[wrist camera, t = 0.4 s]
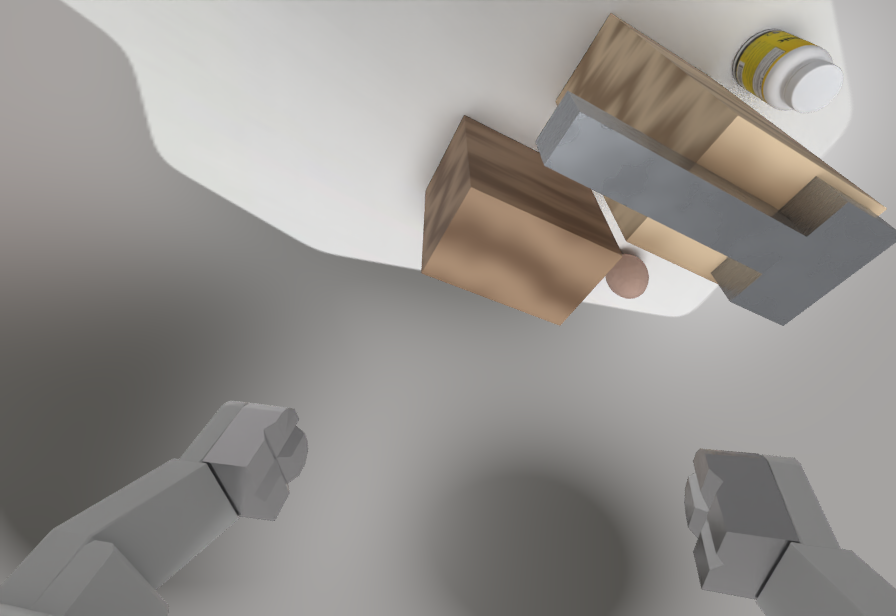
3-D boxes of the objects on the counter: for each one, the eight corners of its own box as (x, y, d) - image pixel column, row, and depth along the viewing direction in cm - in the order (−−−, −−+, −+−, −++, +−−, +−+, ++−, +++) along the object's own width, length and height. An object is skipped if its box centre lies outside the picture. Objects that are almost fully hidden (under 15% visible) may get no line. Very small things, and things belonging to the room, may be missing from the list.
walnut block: (464, 115, 51) (471, 186, 39) (584, 175, 56) (623, 256, 44) (425, 190, 57) (421, 273, 45) (537, 239, 62) (560, 325, 50)
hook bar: (511, 178, 28) (517, 205, 26) (598, 41, 23) (614, 59, 21) (761, 296, 34) (783, 325, 32) (869, 208, 29) (904, 236, 27)
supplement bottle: (802, 42, 47) (868, 73, 39) (758, 95, 50) (811, 132, 43) (762, 17, 45) (823, 44, 38) (719, 73, 48) (767, 107, 41)
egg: (646, 260, 64) (664, 293, 59) (613, 281, 67) (627, 314, 62) (626, 238, 62) (642, 270, 57) (593, 261, 64) (605, 293, 59)
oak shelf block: (610, 12, 45) (738, 115, 25) (711, 77, 49) (887, 208, 29) (555, 101, 50) (626, 241, 31) (649, 153, 54) (764, 305, 35)
